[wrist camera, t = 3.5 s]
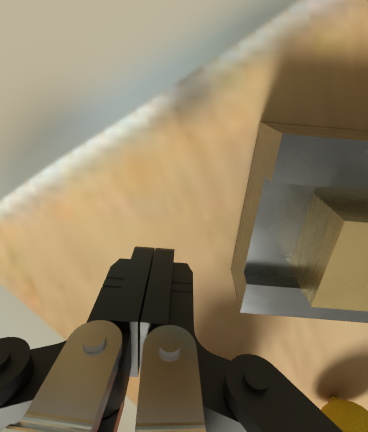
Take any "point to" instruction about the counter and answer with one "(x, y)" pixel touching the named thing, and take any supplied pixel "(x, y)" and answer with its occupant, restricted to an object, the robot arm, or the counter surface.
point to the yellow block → (334, 252)
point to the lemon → (346, 415)
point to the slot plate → (291, 212)
